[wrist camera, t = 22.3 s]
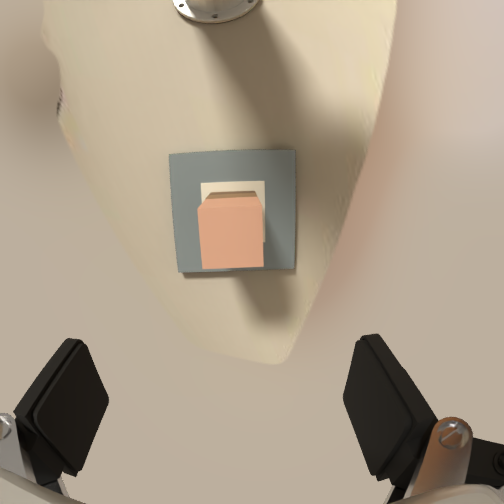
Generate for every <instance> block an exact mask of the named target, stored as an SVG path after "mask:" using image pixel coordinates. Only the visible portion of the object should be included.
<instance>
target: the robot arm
mask: <svg viewBox="0 0 504 504" xmlns="http://www.w3.org/2000/svg"><path fill="white" fill-rule="evenodd" d="M257 2H258V0H173V3H174V6H175V7H176V9H177V11H178V12H179V13H180V14H181V15H183V16H184V17H186V18H188V19H190V20H193V21H197V22H201V23H220V22H227V21H230V20H233V19H236V18H238V17H241V16H243V15H244V14H246V13H248V12H249V11H250V10H251V9H252V8H253V7H254V6H255V5H256V4H257ZM343 401H344V405H345V407H346V410H347V412H348V415H349V418H350V420H351V423H352V425H353V428H354V431H355V434H356V436H357V439H358V442H359V444H360V447H361V450H362V453H363V455H364V458H365V461H366V464H367V466H368V469H369V472H370V474H371V475H372V476H374V475H376V478H377V481H381V480H384V479H387V478H389V479H390V482H391V484H392V487H391V490H390V492H389V494H388V496H387V498H386V500H385V502H384V504H504V445H503V444H498V443H494V442H490V441H485V440H481V439H477V438H473V432H472V429H471V427H470V426H469V425H468V423H467V422H465V421H464V420H462V419H460V418H457V417H446V418H443V419H441V420H439V421H438V419H437V418H436V416H435V414H434V413H433V411H432V410H431V408H430V407H429V405H428V403H427V402H426V401H425V399H424V397H423V396H422V394H421V393H420V391H419V390H418V388H417V387H416V385H415V384H414V382H413V381H412V379H411V378H410V376H409V375H408V373H407V372H406V370H405V369H404V368H403V367H402V366H401V365H400V363H399V362H398V360H397V359H396V358H395V356H394V355H393V354H392V352H391V350H390V349H389V347H388V346H387V345H386V343H385V342H384V340H383V339H382V338H381V336H380V335H379V334H371V335H364V336H362V337H361V338H360V340H358V341H357V342H356V344H355V349H354V353H353V357H352V361H351V366H350V370H349V374H348V379H347V382H346V386H345V390H344V393H343ZM108 403H109V397H108V394H107V392H106V390H105V388H104V386H103V383H102V381H101V379H100V377H99V374H98V372H97V370H96V367H95V365H94V362H93V360H92V357H91V355H90V352H89V350H88V347H87V345H86V344H84V343H83V341H82V340H80V339H72V338H68V339H66V340H65V341H64V342H63V343H62V345H61V346H60V347H59V348H58V350H57V351H56V352H55V354H54V355H53V356H52V357H51V359H50V360H49V361H48V363H47V364H46V366H45V367H44V368H43V369H42V371H41V372H40V374H39V375H38V376H37V378H36V379H35V381H34V382H33V383H32V385H31V386H30V388H29V389H28V390H27V392H26V393H25V395H24V396H23V398H22V399H21V401H20V402H19V404H18V405H17V407H16V408H15V410H14V411H13V412H14V413H15V415H16V418H15V419H14V418H13V417H12V416H11V415H9V414H7V413H0V504H85V503H82V502H80V501H77V500H74V499H71V498H70V497H69V495H68V492H67V490H66V488H65V485H64V483H63V480H62V477H61V474H62V471H63V472H64V473H66V474H69V475H72V476H74V477H76V476H77V473H78V471H80V470H82V468H83V466H84V463H85V460H86V458H87V455H88V452H89V450H90V447H91V445H92V442H93V440H94V437H95V435H96V432H97V430H98V427H99V425H100V423H101V420H102V418H103V415H104V413H105V411H106V408H107V406H108Z"/></svg>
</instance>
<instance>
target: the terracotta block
mask: <svg viewBox="0 0 504 504" xmlns="http://www.w3.org/2000/svg"><path fill="white" fill-rule="evenodd" d="M197 211H198V224H199V236H200V248H201V258H202V269H220V268H243V267H264V263H263V219H262V204H261V202H260V200H259V198H258V197H236V198H217V199H205V200H204V201H203V203H202V204H201V205H200V206H199V207H198V209H197Z"/></svg>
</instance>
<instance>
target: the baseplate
mask: <svg viewBox="0 0 504 504" xmlns="http://www.w3.org/2000/svg"><path fill="white" fill-rule="evenodd" d="M169 167H170V185H171V201H172V214H173V226H174V237H175V247H176V256H177V265H178V272H216V271H248V270H275V269H294V259H295V213H296V150H226V151H207V152H192V153H179V154H169ZM229 191H255V192H256V194H257V197H258V198H259V200H260V202H261V204H262V219H263V263H264V267H243V268H220V269H202V258H201V248H200V236H199V224H198V211H197V209H198V207H199V206H200V205H201V204H202V203H203V201H204V200H205V198H206V197H207V196H208V195H209V194H210V193H211V192H229Z"/></svg>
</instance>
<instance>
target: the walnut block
mask: <svg viewBox="0 0 504 504" xmlns="http://www.w3.org/2000/svg"><path fill="white" fill-rule="evenodd" d="M236 197H257V194H256V192H255V191H229V192H211V193H210V194H209V195H208V196H207V197H206V198H205V199H217V198H236Z"/></svg>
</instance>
